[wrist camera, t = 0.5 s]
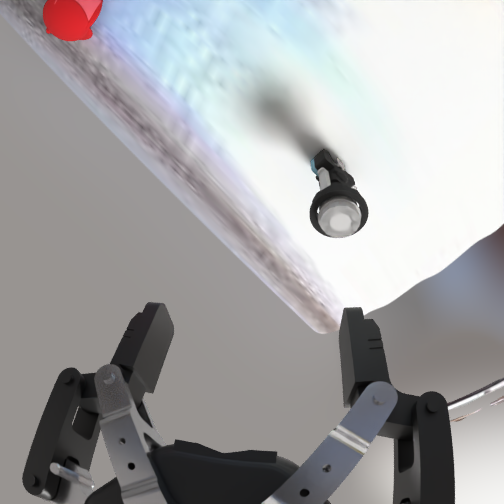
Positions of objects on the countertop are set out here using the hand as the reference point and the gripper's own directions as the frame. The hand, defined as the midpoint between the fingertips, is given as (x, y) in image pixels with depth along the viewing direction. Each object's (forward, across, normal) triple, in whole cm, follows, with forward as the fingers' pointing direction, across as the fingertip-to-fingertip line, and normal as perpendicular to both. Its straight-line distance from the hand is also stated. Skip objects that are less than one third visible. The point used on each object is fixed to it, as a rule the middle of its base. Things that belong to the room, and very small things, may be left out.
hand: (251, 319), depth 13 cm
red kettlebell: (+21, +19, -22) cm, 36 cm away
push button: (+24, -7, +2) cm, 25 cm away
